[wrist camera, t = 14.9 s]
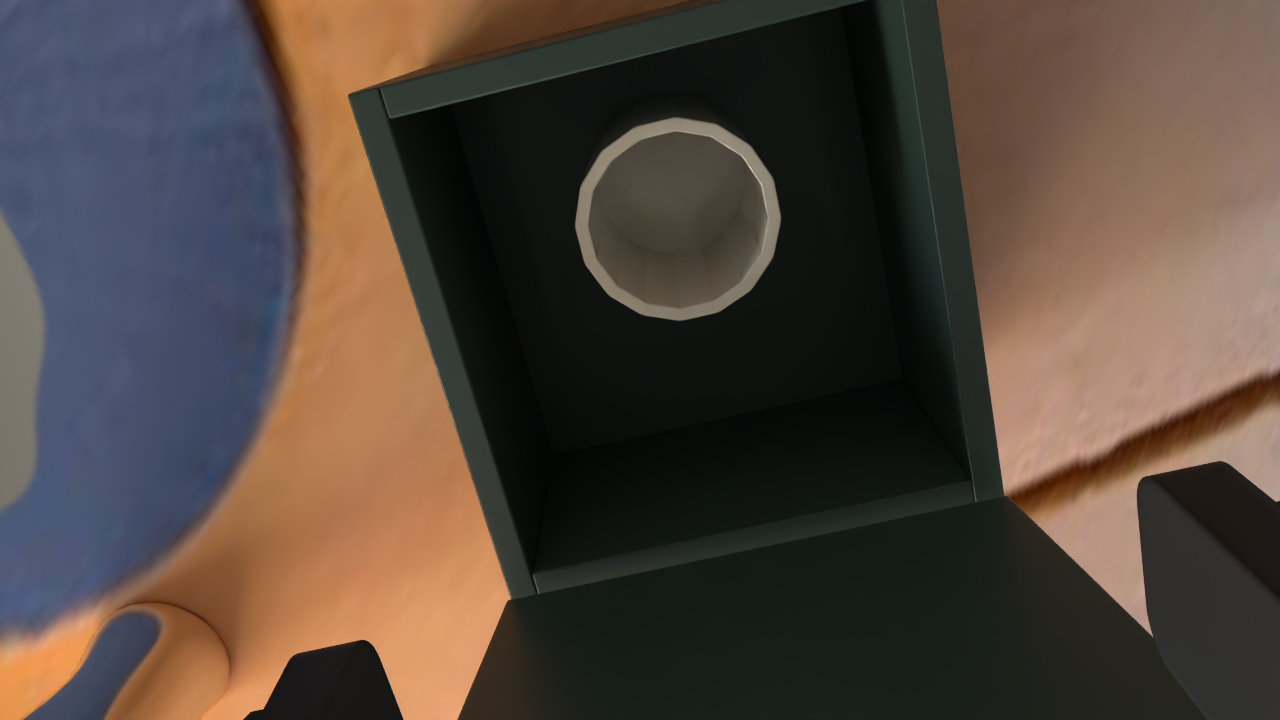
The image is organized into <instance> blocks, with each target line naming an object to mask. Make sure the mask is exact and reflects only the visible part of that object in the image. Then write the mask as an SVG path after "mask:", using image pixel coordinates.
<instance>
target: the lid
mask: <svg viewBox="0 0 1280 720" xmlns="http://www.w3.org/2000/svg"><path fill="white" fill-rule="evenodd" d="M458 720H1207V719H1206V717H1205V716H1204V715H1203V714H1202V712H1201V711H1200V710H1199V708H1198V707H1197V706H1196V705H1195V703H1194V702H1193V701H1192V699H1191V698H1190V697H1189V696H1188V694H1187V693H1186V692H1185V690H1184V689H1183V688H1182V687H1181V685H1180V684H1179V683H1178V681H1177V680H1176V679H1175V678H1174V676H1173V675H1172V674H1171V672H1170V671H1169V669H1168V667H1167V666H1166V664H1165V662H1164V660H1163V658H1162V656H1161V654H1160V652H1159V650H1158V648H1157V645H1156V642H1155V640H1154V638H1153V637H1152V636H1151V635H1150V634H1149V633H1148V632H1147V631H1146V630H1145V629H1144V628H1143V627H1142V626H1141V625H1140V624H1139V623H1138V622H1137V621H1136V620H1135V619H1134V618H1133V617H1132V616H1131V615H1130V614H1129V613H1128V612H1127V611H1125V610H1124V609H1123V608H1122V607H1121V606H1120V605H1119V604H1118V603H1117V602H1116V601H1115V600H1114V599H1113V598H1112V597H1111V596H1110V595H1109V594H1108V593H1107V592H1106V591H1105V590H1104V589H1103V588H1102V587H1101V586H1100V585H1099V584H1098V583H1097V582H1096V581H1095V580H1094V579H1093V578H1092V577H1090V576H1089V575H1088V574H1087V573H1086V572H1085V571H1084V570H1083V569H1082V568H1081V567H1080V566H1079V565H1078V564H1077V563H1076V562H1075V561H1074V560H1073V559H1072V558H1071V557H1070V556H1069V555H1068V554H1067V553H1066V552H1065V551H1064V550H1063V549H1062V548H1061V547H1060V546H1059V545H1058V544H1056V543H1055V542H1054V541H1053V540H1052V539H1051V538H1050V537H1049V536H1048V535H1047V534H1046V533H1045V532H1044V531H1043V530H1042V529H1041V528H1040V527H1039V526H1038V525H1037V524H1036V523H1035V522H1034V521H1033V520H1032V519H1031V518H1030V517H1029V516H1028V515H1027V514H1026V513H1025V512H1024V511H1022V510H1021V509H1020V508H1019V507H1018V506H1017V505H1016V504H1015V503H1014V502H1013V501H1012V500H1011V499H1010V498H1009V497H1008V496H1004V497H999V498H994V499H989V500H985V501H980V502H975V503H970V504H966V505H961V506H956V507H951V508H947V509H942V510H937V511H932V512H927V513H923V514H918V515H913V516H908V517H904V518H899V519H894V520H889V521H885V522H880V523H875V524H870V525H865V526H861V527H856V528H851V529H846V530H842V531H837V532H832V533H827V534H822V535H818V536H813V537H808V538H803V539H799V540H794V541H789V542H784V543H780V544H775V545H770V546H765V547H760V548H756V549H751V550H746V551H741V552H737V553H732V554H727V555H722V556H717V557H713V558H708V559H703V560H698V561H694V562H689V563H684V564H679V565H675V566H670V567H665V568H660V569H655V570H651V571H646V572H641V573H636V574H632V575H627V576H622V577H617V578H612V579H608V580H603V581H598V582H593V583H589V584H584V585H579V586H574V587H570V588H565V589H560V590H555V591H550V592H546V593H541V594H536V595H531V596H527V597H522V598H517V599H512V600H508V601H507V603H506V605H505V608H504V610H503V613H502V615H501V617H500V620H499V622H498V625H497V627H496V629H495V632H494V634H493V636H492V639H491V641H490V644H489V646H488V648H487V651H486V653H485V656H484V658H483V660H482V663H481V665H480V667H479V670H478V672H477V675H476V677H475V679H474V682H473V684H472V686H471V689H470V691H469V694H468V696H467V698H466V701H465V703H464V706H463V708H462V710H461V713H460V715H459V717H458Z"/></svg>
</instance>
